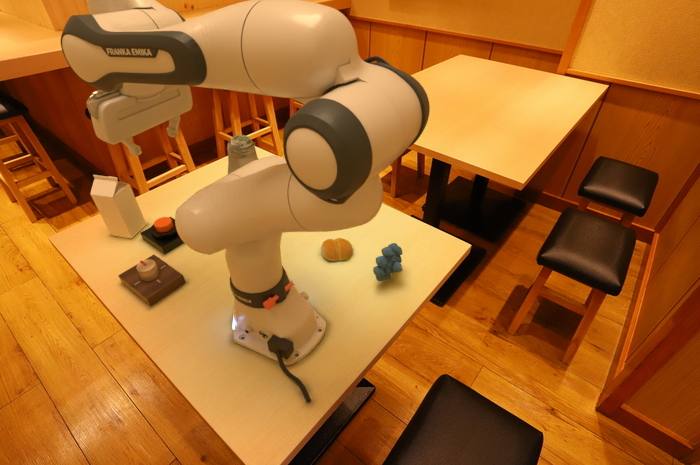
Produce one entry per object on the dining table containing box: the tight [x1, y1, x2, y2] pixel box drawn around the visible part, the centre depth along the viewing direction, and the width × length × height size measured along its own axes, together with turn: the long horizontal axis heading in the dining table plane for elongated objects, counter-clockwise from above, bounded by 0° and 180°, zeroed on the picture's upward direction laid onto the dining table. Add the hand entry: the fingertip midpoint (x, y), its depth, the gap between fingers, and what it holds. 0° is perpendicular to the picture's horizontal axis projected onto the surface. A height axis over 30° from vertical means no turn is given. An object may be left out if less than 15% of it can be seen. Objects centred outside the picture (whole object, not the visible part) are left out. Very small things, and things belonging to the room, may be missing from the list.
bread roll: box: [320, 237, 353, 262], centre depth 107 cm, size 8×9×4 cm
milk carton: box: [89, 174, 147, 239], centre depth 108 cm, size 7×7×19 cm
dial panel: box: [117, 254, 186, 308], centre depth 97 cm, size 13×10×3 cm
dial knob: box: [136, 259, 160, 281], centre depth 95 cm, size 4×4×4 cm
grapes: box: [372, 242, 403, 282], centre depth 96 cm, size 12×7×12 cm, turn 141°
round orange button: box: [153, 216, 174, 233], centre depth 109 cm, size 5×5×2 cm
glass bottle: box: [226, 134, 259, 175], centre depth 111 cm, size 10×10×28 cm
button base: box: [140, 216, 185, 255], centre depth 110 cm, size 11×10×4 cm
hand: (155, 144), depth 77 cm, fingers open, 8 cm apart
